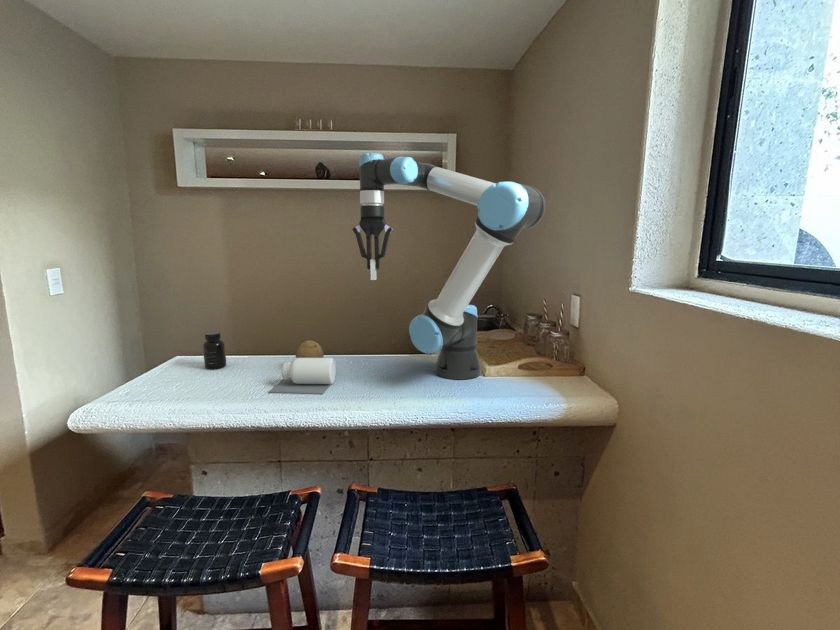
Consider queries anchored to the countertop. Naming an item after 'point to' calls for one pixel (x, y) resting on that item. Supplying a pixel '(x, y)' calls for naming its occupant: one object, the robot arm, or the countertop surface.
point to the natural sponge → (309, 350)
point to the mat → (298, 388)
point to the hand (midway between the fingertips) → (373, 279)
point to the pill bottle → (310, 370)
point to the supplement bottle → (214, 351)
